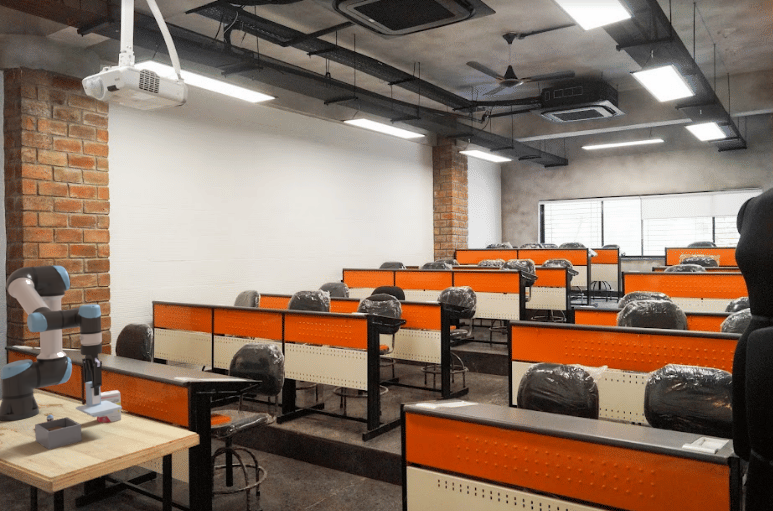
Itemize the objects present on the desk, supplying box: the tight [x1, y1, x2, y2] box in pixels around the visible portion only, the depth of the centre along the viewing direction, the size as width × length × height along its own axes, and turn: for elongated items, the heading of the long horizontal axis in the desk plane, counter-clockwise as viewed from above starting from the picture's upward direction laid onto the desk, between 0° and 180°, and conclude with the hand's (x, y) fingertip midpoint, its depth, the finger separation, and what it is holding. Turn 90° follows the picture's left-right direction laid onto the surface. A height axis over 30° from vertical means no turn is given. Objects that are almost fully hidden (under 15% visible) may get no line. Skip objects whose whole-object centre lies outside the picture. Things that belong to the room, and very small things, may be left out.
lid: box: [75, 381, 123, 418], centre depth 222 cm, size 15×12×11 cm
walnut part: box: [47, 426, 62, 431], centre depth 214 cm, size 4×4×4 cm
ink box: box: [96, 389, 122, 424], centre depth 238 cm, size 9×5×12 cm, turn 127°
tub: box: [34, 416, 83, 450], centre depth 212 cm, size 14×11×7 cm
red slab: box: [42, 414, 55, 423], centre depth 228 cm, size 8×7×6 cm
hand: (93, 402), depth 226 cm, fingers closed on lid, 4 cm apart
